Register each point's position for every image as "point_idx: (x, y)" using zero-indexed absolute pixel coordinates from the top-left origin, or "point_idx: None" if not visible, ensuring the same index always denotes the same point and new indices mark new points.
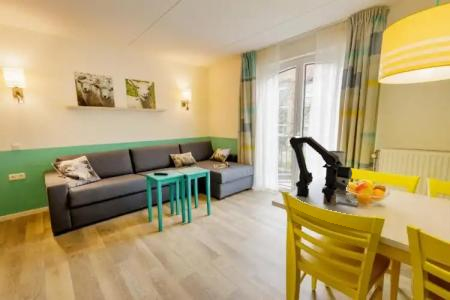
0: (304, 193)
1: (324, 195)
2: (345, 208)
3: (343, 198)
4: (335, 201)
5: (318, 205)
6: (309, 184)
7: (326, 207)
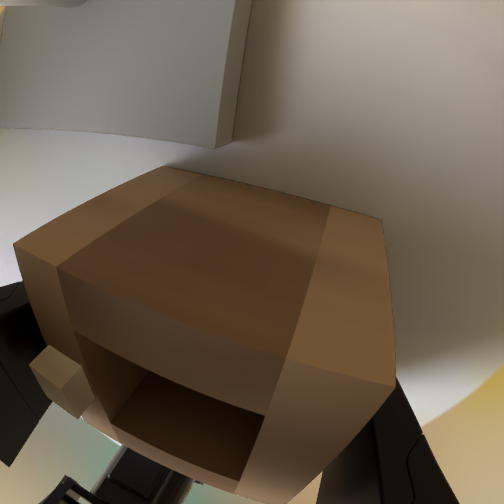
0: (179, 478)
1: (287, 497)
2: (489, 20)
3: (28, 60)
4: (209, 187)
5: (422, 424)
6: (64, 482)
7: (494, 357)
